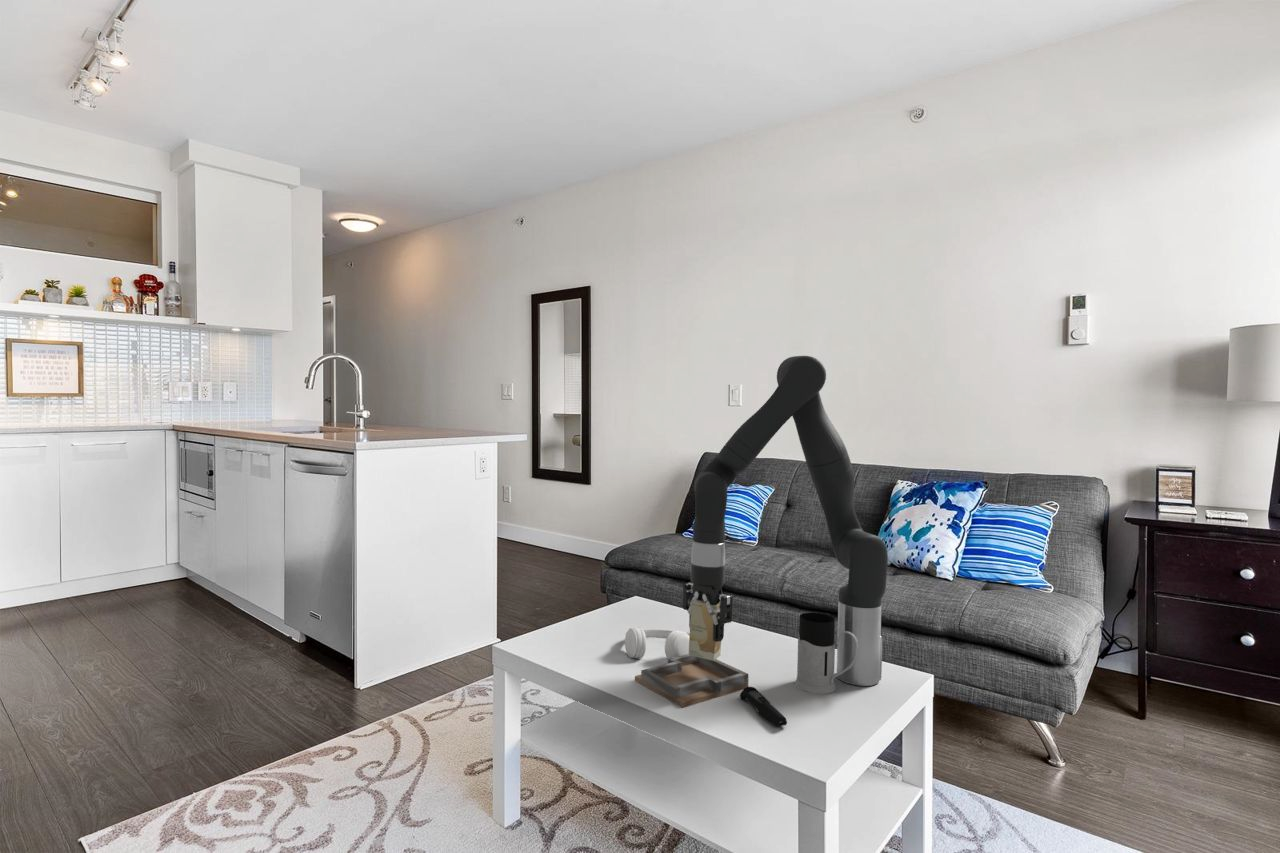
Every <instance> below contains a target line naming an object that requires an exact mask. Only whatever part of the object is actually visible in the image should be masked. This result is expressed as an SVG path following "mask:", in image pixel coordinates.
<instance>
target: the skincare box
mask: <svg viewBox="0 0 1280 853" xmlns="http://www.w3.org/2000/svg"><path fill="white" fill-rule="evenodd" d="M712 607H713V609H715V610H717V609H719V608H720V604H716V605H712ZM716 614H717V617H718V619H719V614H718V613H716ZM713 625H714V621H713V618H712V616H711V615H710V614H709V612H708V609H707V606H706V603H705V602H703V601H700V600H693V601H692V602H691V618H690V627H689V633H690V636H689V655H690V656H695V657H699V658H703V659H708V660H712V661H714V660H715V659H717V660H718V658H719V657H720V656H721V653H722V652H721V650H722V641H718V642H715V641H714V640H713Z"/></svg>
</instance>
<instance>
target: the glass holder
mask: <svg viewBox="0 0 1280 853" xmlns="http://www.w3.org/2000/svg"><path fill="white" fill-rule="evenodd" d="M798 622H799V623H798V624H799V625H798V628H797V629H798V631H797V666H796V667H797V669H796V670H797V671H796V679H795V681H794V686H795V687H796V688H798V689H800V690H801V691H804V692H807V693H810V694H811V693H812V694H818V695H820V694H822V695H823V694H824V695H825V694H830V693H833V692H835V691H836V689H837V686H836V683H835V678H838V677H837V676H838V675H840V674H842V673H844V672H845V671H847V670H848V669H849V668H851V667H852V665H853V663H854V661H855V659H856V657H857V653H858V641H857V638H856V637H855V636H854V634H852V633H851V632H848V631H845V632H842V633H841V634H840V635H839V637H838V636H837V640H838V645H837V646H836V641H835V626H836V625H835V624H836V620H835V617H834V616H832V615H829V614H826V613H823V612H822V613H821V612H803V613H801V614H799V620H798ZM845 633H847V634H849V635H851V636H852V637H853V638H854V641H855V654H854V658H853V660H852V662H851V663H850V665H849V666H848V667H847V668H846V669H844V670H843V671H841V672H840V673H838V674H837V673H836V674H835V655H836V651H835V650H837V648H839V647H840V641H841V637H842V635H843V634H845Z"/></svg>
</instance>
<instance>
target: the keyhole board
mask: <svg viewBox="0 0 1280 853" xmlns="http://www.w3.org/2000/svg"><path fill="white" fill-rule="evenodd" d="M634 681H635V682H636V683H638V684H641V685H642V686H644V687H645V688H647V689H649V690H651V691H653V692H654V693H656V694H658V695H660V696H661V697H663V698H665V699H666V700H668V701H670V702H671V703H673V704H675V705H677V706H678V707H680V708H686V707H689V706H693V705H697V704H698V703H702V702H705V701H710V700H712V699H716V698H719V697H722V696H725V695H729V694H732V693H736V692H740V691H743V690H744V689H745V688H746V687H749V673H748V672H746V671H743V670H741V669H740V668H739V669H738V668H736V667H734V666H732V665H729V664H728V663H725V662H723V661H721V660H719V659H718V658H717V659H715V660H714V661H712V660H708V659H703V658H699V657H695V656H690V655H689V654H686V655H682V656H678V657H674V658H670V659H668V658H667V663H664V664H661V665H656V666H652V667H649V668H645V669H641V672H640V674H637V675H634Z"/></svg>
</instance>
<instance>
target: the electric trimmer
mask: <svg viewBox="0 0 1280 853" xmlns="http://www.w3.org/2000/svg"><path fill="white" fill-rule="evenodd" d="M739 697H740V700H741V701H743V700H744V701H746V702H747V703H749V704H750V705H751V706H752V707H753V708H754V709H755V710H756V711H757V715H758V716H760V717H761V718H763V719H764V720H765V721H766V722H768V723H770V724H771V725H773V726H775V727H780V726H781V727H783V726H787V724H788V722H787V721H788V720H787V718H786V717H785V716H784V715H783V713H781V712H780V711H779V710H778V709H777V708H776V707H775V706H774V705H773V704H771V702H770V701H769V700H768V698H766V697H765V696H764V695H763V694H762V693H761V692H760V691H759V690H758V689H757V688H755V687H754V686H748V687H746V688H745V689H742V690H741V692H740V694H739Z"/></svg>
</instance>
